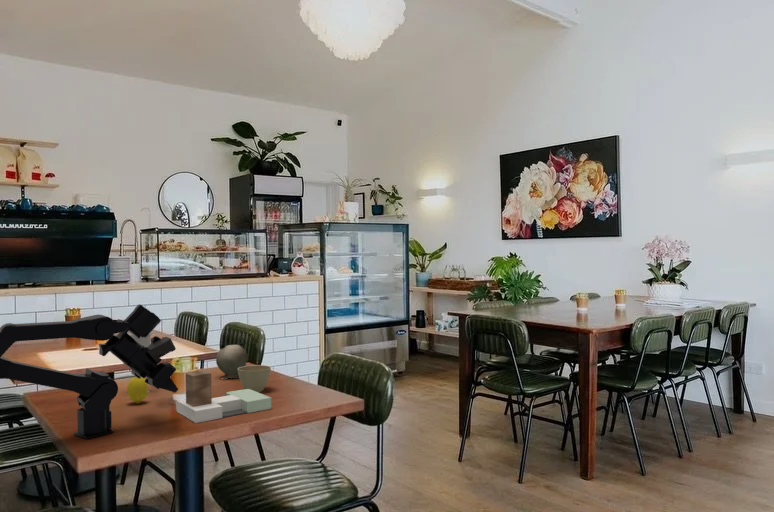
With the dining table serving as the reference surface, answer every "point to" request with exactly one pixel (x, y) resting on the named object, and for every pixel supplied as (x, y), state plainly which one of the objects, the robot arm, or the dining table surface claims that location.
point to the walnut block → (198, 388)
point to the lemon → (137, 389)
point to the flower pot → (254, 377)
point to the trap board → (225, 406)
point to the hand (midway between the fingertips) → (176, 390)
